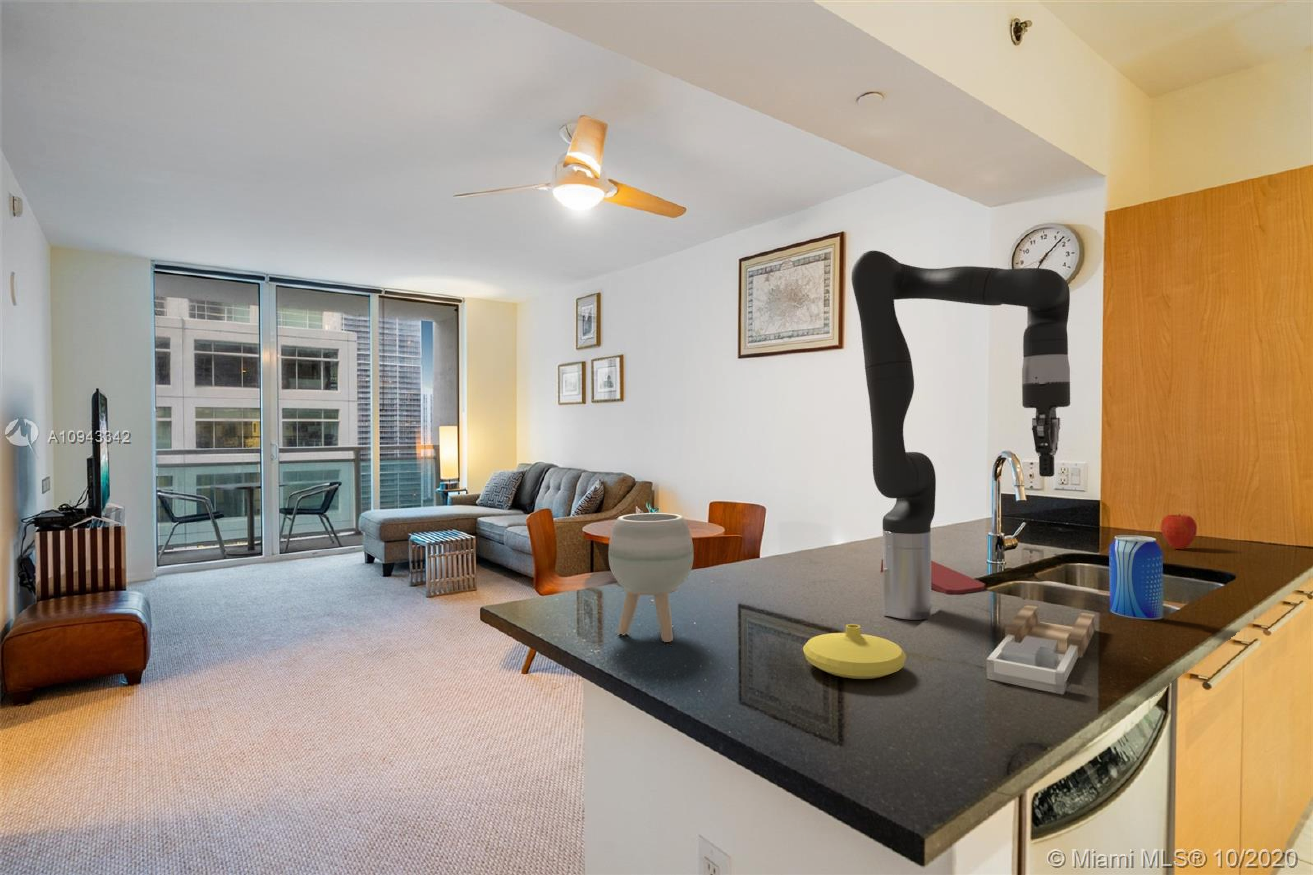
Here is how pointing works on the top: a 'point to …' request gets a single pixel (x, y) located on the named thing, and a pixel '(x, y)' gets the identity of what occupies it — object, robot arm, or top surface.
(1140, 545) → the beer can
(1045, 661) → the chip
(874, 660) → the vase
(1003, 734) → the top surface
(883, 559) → the robot arm
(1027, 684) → the tray
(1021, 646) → the chip
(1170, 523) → the apple
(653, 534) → the planter
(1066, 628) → the slot board
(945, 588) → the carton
